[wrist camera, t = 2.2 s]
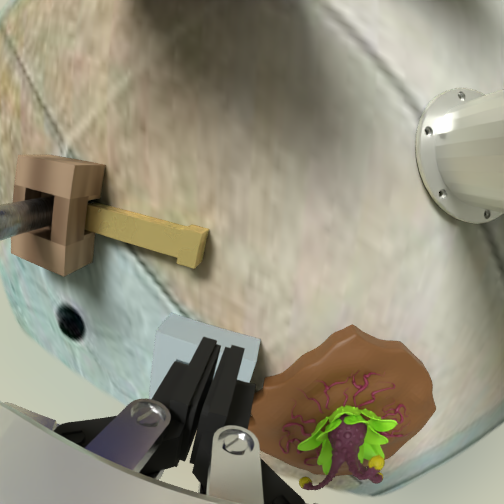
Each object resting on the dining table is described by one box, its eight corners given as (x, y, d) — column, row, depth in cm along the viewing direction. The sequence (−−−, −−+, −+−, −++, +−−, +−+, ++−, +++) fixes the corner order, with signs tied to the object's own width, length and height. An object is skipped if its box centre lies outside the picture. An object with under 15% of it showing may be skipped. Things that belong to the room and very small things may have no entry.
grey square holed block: (260, 339, 29) (256, 362, 26) (239, 405, 32) (233, 429, 28) (171, 312, 30) (155, 331, 26) (161, 380, 32) (148, 402, 28)
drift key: (208, 228, 28) (201, 234, 25) (201, 261, 28) (194, 268, 26) (95, 199, 28) (81, 201, 26) (92, 228, 29) (78, 232, 27)
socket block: (105, 164, 27) (74, 165, 22) (92, 262, 30) (64, 276, 25) (49, 154, 28) (18, 154, 23) (40, 242, 30) (11, 253, 25)
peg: (65, 198, 26) (-44, 221, 13) (62, 227, 27) (-43, 261, 14) (45, 193, 26) (-59, 213, 13) (43, 220, 27) (-58, 250, 14)
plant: (456, 385, 29) (494, 447, 18) (344, 475, 34) (350, 539, 23) (340, 294, 28) (366, 361, 17) (222, 416, 33) (200, 490, 22)
